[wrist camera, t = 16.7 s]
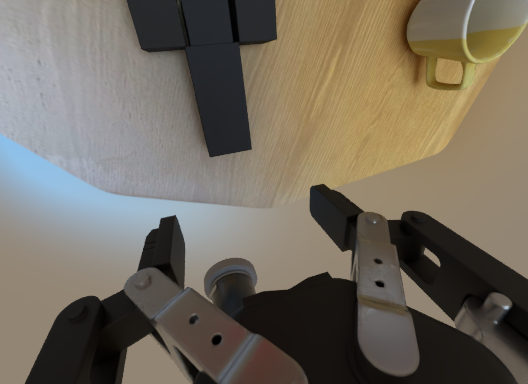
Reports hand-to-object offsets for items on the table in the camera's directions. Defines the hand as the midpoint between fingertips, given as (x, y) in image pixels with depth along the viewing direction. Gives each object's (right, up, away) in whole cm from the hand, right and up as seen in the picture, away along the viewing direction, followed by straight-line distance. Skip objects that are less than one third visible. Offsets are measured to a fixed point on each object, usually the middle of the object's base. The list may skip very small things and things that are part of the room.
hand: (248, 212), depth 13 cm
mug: (+25, +25, +22) cm, 41 cm away
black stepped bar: (-6, +15, +16) cm, 23 cm away
